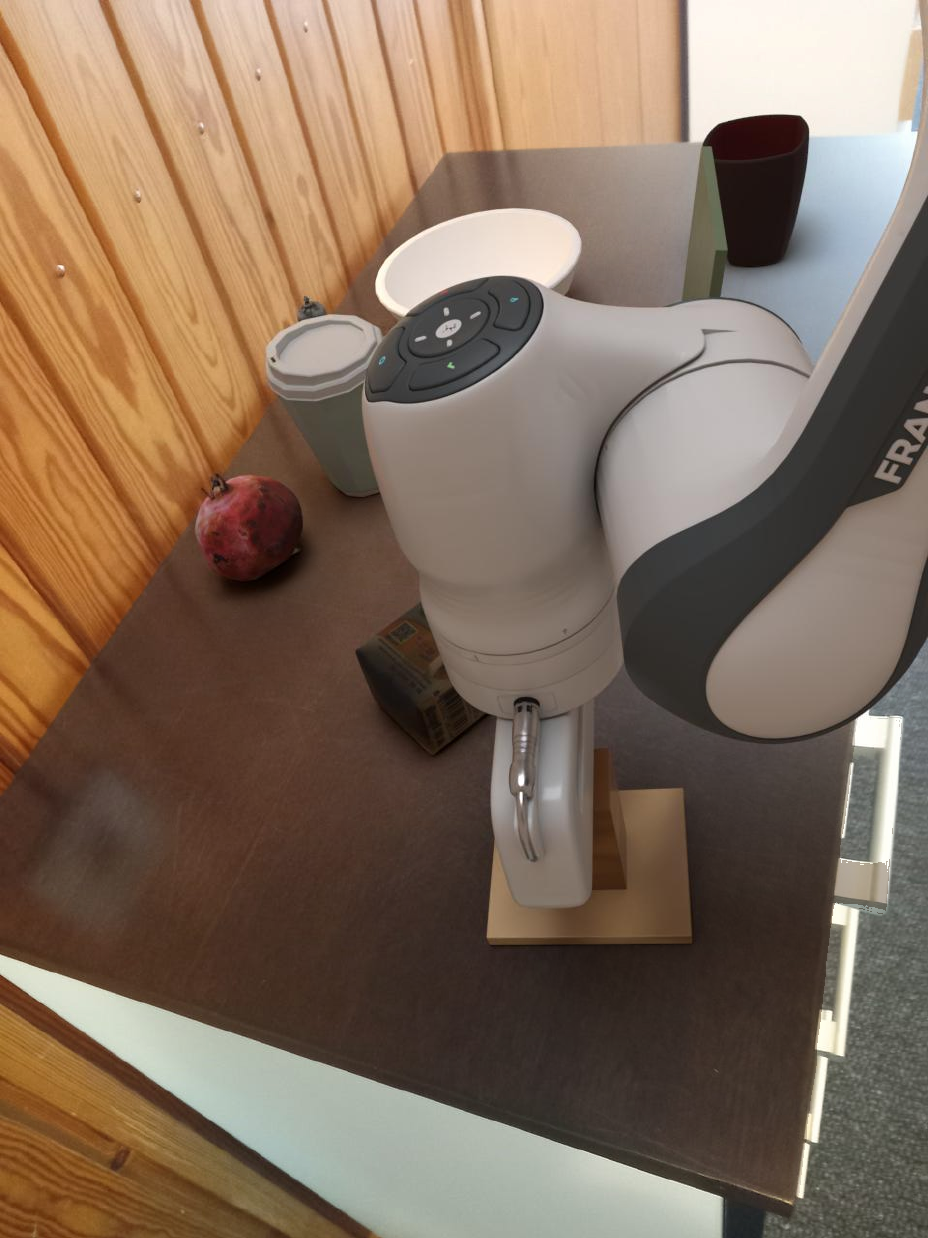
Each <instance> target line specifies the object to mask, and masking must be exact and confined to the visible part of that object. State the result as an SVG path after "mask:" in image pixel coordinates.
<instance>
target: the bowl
mask: <svg viewBox="0 0 928 1238" xmlns="http://www.w3.org/2000/svg"><path fill="white" fill-rule="evenodd" d="M582 245H583V241H582V239H581V235H580V233H579V231H578V230H577V228H576V227H575V226H574V225H573V224H572V223H571V222H570V221H568V220H567V219H565V218H564V217H562V216H560V215H557V214H555V213H552V212H548V211H545V210H540V209H539V210H538V209H534V208H517V207H513V208H512V207H510V208H495V209H490V210H482V211H477V212H473V213H468V214H465V215H461V216H457V217H454V218H452V219H448V220H445V221H442V222H440V223H438V224H436V225H434V226H431V227H429V228H426V229H424V230H423V231H421V232H419V233H418V234H416V235H414V236H412V237H410V238H409V239H407V240H406V241H405V242H403V243H402V244H401V245H399V247H397V248H396V249H394V250H393V252H392V253H391V254H389V256H388V257H387V258H385V260H384V262H383V263H382V265H381V266H380V268H379V270H378V272H377V275H376V279H375V285H374V286H375V295H376V296H377V298H378V300H379V303H380V304H381V305H382V306H383V307H384V308H385V309H386V310H387V311H388V312H389V313H390V314H391V316H393V318H394V319H395V320H396V321H397V323H398V322H399V321H400V320H401V319H402V318H403V317H404V316H406V314H407V313H408V312H409V311H410V310H411V309H413V308H414V307H415V306H417V305H418V304H420V303H421V302H423V301H424V300H426V299H427V298H429V297H431V296H433V295H434V294H436V293H438V292H440V291H442V290H444V289H447V288H449V287H452V286H454V285H457V284H460V283H463V282H466V281H470V280H474V279H479V278H483V277H490V276H518V277H523V278H527V279H530V280H533V281H535V282H538V283H540V284H542V285H543V286H545V287H547V288H549V289H551V290H553V291H555V292H557V293H559V294H561V295H563V296H566V294H567V293H568V292H569V289H570V287H571V285H572V282H573V280H574V277H575V274H576V271H577V268H578V264H579V261H580V258H581V255H582V247H583V246H582Z"/></svg>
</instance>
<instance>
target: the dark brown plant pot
mask: <svg viewBox="0 0 928 1238" xmlns="http://www.w3.org/2000/svg"><path fill="white" fill-rule="evenodd" d="M809 144H810V127H809V124H808V121H806V120H805V118H804V117H803V116H802V115H800V114H786V113H785V114H783V113H779V114H778V113H777V114H775V113H773V114H759V115H750V116H745V117H739V118H735V119H731V120H730V119H729V120H727V121H722V122H719V123H717V124H716V125H715V126H714V127H713V128H711V130H710V131H709V132H708V134H706V136H705V138H704V140H703V141H702V146H701V147H707V146H711V147H712V152H713V158H714V165H715V171H716V178H717V184H718V191H719V197H720V203H721V210H722V216H723V223H724V229H725V236H726V242H727V249H728V252H727V258H726V260H727V261H728V263H729V264H730V265H732V266H738V267H759V266H766V265H771V264H776V263H779V262H780V261H781V260H782V259H783V258H784V256H785V255H786V253H787V250H788V247H789V244H790V242H791V238H792V235H793V232H794V229H795V226H796V222H797V217H798V214H799V208H800V205H801V201H802V196H803V195H802V194H803V190H804V185H805V179H806V173H807V166H808V161H809V149H810V148H809V147H810V145H809Z"/></svg>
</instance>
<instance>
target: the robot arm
mask: <svg viewBox="0 0 928 1238" xmlns="http://www.w3.org/2000/svg"><path fill="white" fill-rule="evenodd" d="M918 9H919V19H920V28H921V39H922V40H921V41H922V70H923V71H922V93H921V105H920V114H919V120H918V128H917V134H916V139H915V144H914V148H913V153H912V157H911V161H910V166H909V169H908V171H907V175H906V178H905V181H904V184H903V187H902V190H901V193H900V196H899V198H898V200H897V203H896V206H895V208H894V210H893V213H892V214H891V217H890V218H889V221H888V223H887V225H886V227H885V229H884V231H883V233H882V235H881V237H880V239H879V241H878V243H877V245H876V247H875V249H874V251H873V252H872V255H871V257H870V258H869V260H868V262H867V264H866V266H865V268H864V270H863V272H862V274H861V276H860V278H859V280H858V282H857V284H856V286H855V288H854V289H853V292H852V293H851V296H850V298H849V300H848V301H847V303H846V306H845V307H844V309H843V311H842V313H841V315H840V317H839V319H838V321H837V323H836V325H835V326H834V329H833V331H832V333H831V334H830V337H829V338H828V341H826V345H825V346H824V348H823V350H822V352H821V354H820V355H819V358H818V359H817V362H816V364H815V363H814V361H813V360H812V358H811V356H810V355H809V353H808V351H807V349H806V348H805V347H804V345H803V342H802V340H801V339H800V337H799V335H798V334H797V333H796V331H795V330H794V329H793V328H792V326H791V325H790V324H789V323H788V322H787V321H785V320H784V319H783V318H782V317H781V316H780V315H778V314H776V313H775V312H773V311H772V310H770V309H768V308H766V307H764V306H762V305H760V304H757V303H754V302H751V301H748V300H744V299H740V298H734V297H723V296H720V297H705V298H696V299H690V300H685V301H682V300H681V301H678V302H674V303H671V304H668V305H667V304H666V305H665V306H661V307H638V306H637V307H636V306H618V305H608V304H607V305H606V304H600V303H593V302H588V301H584V300H583V301H582V300H579V299H575V298H571V297H568V296H566V295H564V296H563V295H561V294H559V293H557V292H555V291H553V290H551V289H549V288H547V287H545V286H543V285H542V284H540V283H538V282H535V281H533V280H530V279H527V278H523V277H518V276H490V277H483V278H479V279H474V280H470V281H466V282H463V283H460V284H457V285H454V286H452V287H449V288H447V289H444V290H442V291H440V292H438V293H436V294H434V295H433V296H431V297H429V298H427V299H426V300H424V301H423V302H421V303H420V304H418V305H417V306H415V307H414V308H413V309H411V310H410V311H409V312H408V313H407V314H406V316H404V317H403V318H402V319H401V320H400V321H399V322H398V321H397V322H396V323H395V324H394V325H393V326H392V327H391V329H389V331H388V332H387V333H386V334H385V335H384V338H383V340H382V341H381V342H380V344H379V345H378V347H377V349H376V351H375V353H374V354H373V357H372V359H371V361H370V363H369V366H368V369H367V372H366V376H365V381H364V386H363V392H362V415H363V423H364V430H365V436H366V441H367V446H368V450H369V455H370V459H371V463H372V466H373V470H374V474H375V477H376V480H377V484H378V487H379V490H380V492H379V493H380V496H381V499H382V503H383V505H384V506H383V507H384V509H385V512H386V515H387V518H388V521H389V523H390V526H391V528H392V531H393V534H394V537H395V539H396V541H397V544H398V546H399V548H400V550H401V552H402V554H403V555H404V556H405V558H406V560H407V561H408V562H409V564H411V565H412V567H414V569H415V570H416V571H417V572H418V573H419V597H420V601H421V603H422V607H423V610H424V613H425V616H426V618H427V621H428V623H429V626H430V629H431V631H432V634H433V637H434V639H435V642H436V645H437V647H438V650H439V653H440V655H441V658H442V661H443V663H444V666H445V669H446V671H447V674H448V677H449V679H450V681H451V683H452V685H453V686H454V688H455V690H456V691H457V692H458V693H459V695H460V696H461V697H462V698H463V699H465V700H466V701H467V702H468V703H470V704H471V705H472V706H474V707H476V708H477V709H479V710H481V711H483V712H486V714H488V715H490V716H491V715H492V716H494V717H496V721H495V733H494V743H493V744H494V745H493V756H492V757H493V758H492V767H491V779H490V814H491V815H490V816H491V826H492V831H493V836H494V841H496V846H497V849H498V853H499V856H500V860H501V864H502V867H503V871H504V874H505V877H506V880H507V883H508V887H509V890H510V892H511V895H512V897H513V899H514V901H515V902H516V903H517V904H518V905H520V906H523V907H527V908H539V909H556V908H570V907H577V906H581V905H583V904H584V903H585V902H587V900H588V899H589V897H590V895H591V891H592V853H593V765H594V749H595V697H597V696H598V695H599V694H600V693H602V692H603V691H604V690H605V689H606V688H607V687H608V686H609V685H610V684H611V683H612V682H613V680H614V679H615V678H616V676H617V675H618V674H619V672H620V670H621V668H622V666H623V664H624V667H625V670H626V673H627V675H628V677H629V679H630V681H631V683H633V685H634V686H635V687H636V688H637V689H638V690H639V692H640V693H642V694H643V695H644V696H645V697H646V698H647V699H649V700H651V701H652V702H653V703H655V704H656V705H658V706H659V707H661V708H662V709H664V710H665V711H667V712H669V713H670V714H672V715H673V716H676V717H677V718H679V719H681V720H683V721H684V722H687V723H688V724H691V725H693V726H695V727H697V728H699V729H702V730H705V731H707V732H709V733H712V734H715V735H718V736H722V737H724V738H727V739H731V740H735V741H741V742H746V743H752V744H758V745H759V744H761V745H785V744H792V743H799V742H803V741H808V740H812V739H815V738H818V737H822V736H824V735H827V734H829V733H832V732H834V731H836V730H838V729H841V728H843V727H845V726H847V725H848V724H850V723H851V722H854V721H855V720H856V719H858V718H860V717H861V716H863V715H864V714H865V713H867V712H868V711H869V710H870V709H872V708H873V707H875V706H876V705H877V704H878V703H879V702H880V701H881V700H882V699H883V698H884V697H885V696H886V695H887V694H888V693H889V692H890V691H891V690H892V689H893V688H894V687H895V685H897V683H898V682H899V681H900V680H901V679H902V677H903V676H904V675H905V674H906V673H907V671H908V670H909V669H910V668H911V666H912V664H913V663H914V662H915V660H916V658H917V657H918V655H919V653H920V652H921V650H922V648H923V646H924V645H925V643H926V642H927V639H928V0H918Z"/></svg>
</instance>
